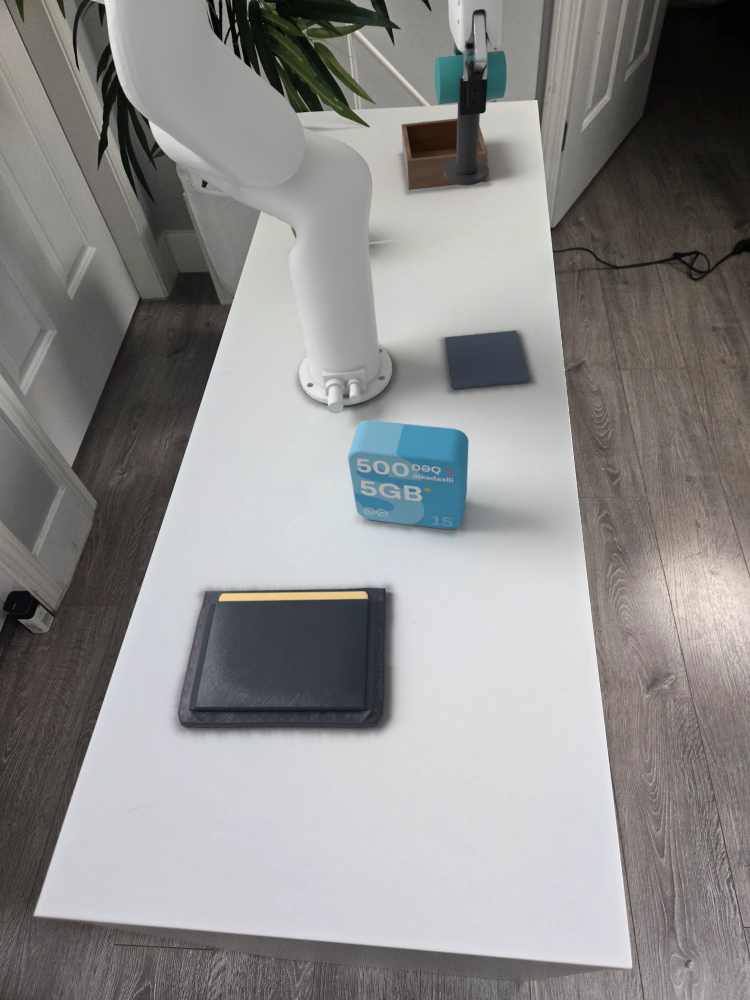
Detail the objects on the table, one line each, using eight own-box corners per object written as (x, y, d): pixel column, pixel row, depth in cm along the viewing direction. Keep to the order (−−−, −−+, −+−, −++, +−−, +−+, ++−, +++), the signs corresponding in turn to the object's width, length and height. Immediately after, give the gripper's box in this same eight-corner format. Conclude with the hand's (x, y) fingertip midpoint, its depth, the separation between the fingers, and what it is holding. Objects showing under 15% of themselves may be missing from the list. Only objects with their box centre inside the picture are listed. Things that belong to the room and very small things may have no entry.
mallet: (500, 182, 94) (508, 61, 83) (440, 188, 94) (440, 68, 83) (492, 160, 98) (499, 42, 86) (434, 166, 98) (434, 49, 86)
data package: (357, 519, 82) (345, 449, 72) (365, 488, 84) (355, 417, 75) (461, 531, 79) (463, 462, 70) (466, 500, 82) (469, 428, 72)
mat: (529, 382, 93) (529, 379, 92) (453, 389, 93) (453, 386, 93) (516, 333, 99) (516, 330, 98) (444, 340, 99) (444, 337, 99)
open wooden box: (486, 184, 124) (487, 152, 119) (408, 192, 124) (407, 161, 120) (475, 146, 132) (476, 116, 128) (402, 154, 132) (401, 124, 128)
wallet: (169, 719, 67) (202, 580, 76) (175, 726, 68) (207, 589, 77) (381, 726, 65) (389, 582, 74) (382, 733, 66) (390, 591, 75)
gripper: (527, -61, 69) (511, 131, 83) (496, -103, 80) (486, 73, 94) (450, -53, 69) (448, 137, 83) (429, -97, 80) (430, 78, 94)
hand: (468, 101), depth 89 cm, fingers closed on mallet, 5 cm apart
